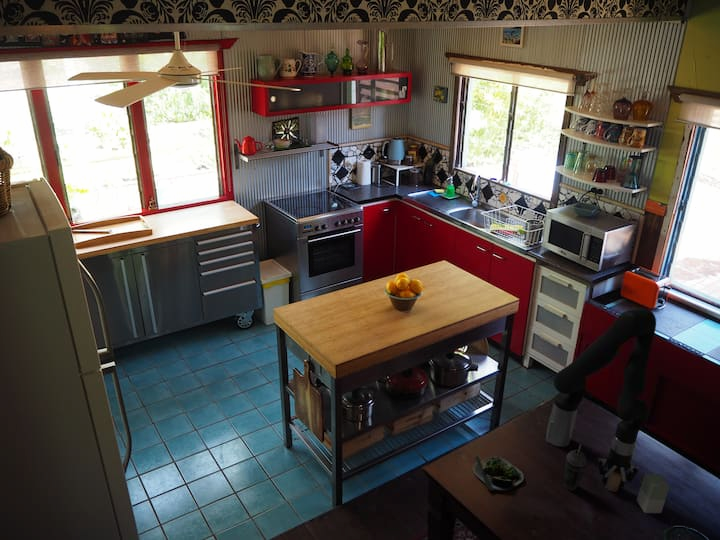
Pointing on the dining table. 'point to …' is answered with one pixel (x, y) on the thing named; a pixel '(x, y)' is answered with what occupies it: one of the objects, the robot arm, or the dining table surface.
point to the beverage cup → (574, 469)
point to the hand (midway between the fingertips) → (612, 485)
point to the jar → (613, 481)
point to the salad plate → (498, 474)
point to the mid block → (655, 487)
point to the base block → (649, 503)
